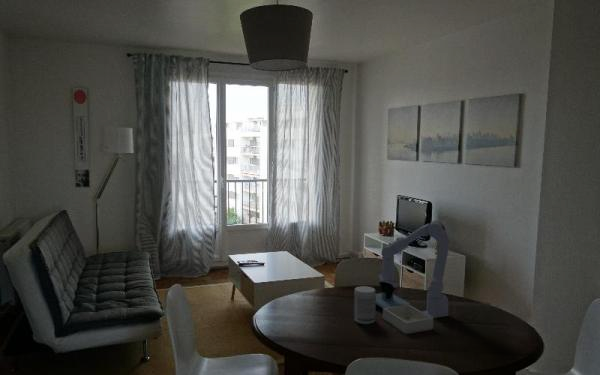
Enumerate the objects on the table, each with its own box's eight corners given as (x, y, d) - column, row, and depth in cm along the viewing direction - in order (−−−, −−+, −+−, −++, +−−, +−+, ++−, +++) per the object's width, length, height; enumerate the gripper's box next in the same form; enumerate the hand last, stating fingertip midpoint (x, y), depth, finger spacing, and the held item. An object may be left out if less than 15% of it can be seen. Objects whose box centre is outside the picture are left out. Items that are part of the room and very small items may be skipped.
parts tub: (408, 314, 212) (408, 304, 212) (432, 329, 196) (433, 318, 195) (382, 318, 207) (383, 308, 207) (405, 334, 191) (406, 322, 190)
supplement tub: (379, 322, 203) (380, 290, 202) (363, 326, 198) (364, 294, 197) (365, 315, 211) (365, 284, 210) (349, 319, 206) (350, 288, 205)
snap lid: (389, 295, 233) (389, 285, 232) (410, 307, 216) (410, 296, 216) (365, 298, 228) (365, 288, 227) (385, 311, 211) (385, 300, 210)
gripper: (373, 267, 225) (372, 293, 227) (389, 275, 212) (388, 303, 213) (385, 265, 228) (384, 292, 229) (401, 273, 215) (400, 301, 216)
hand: (387, 297), depth 222 cm, fingers closed on snap lid, 2 cm apart
